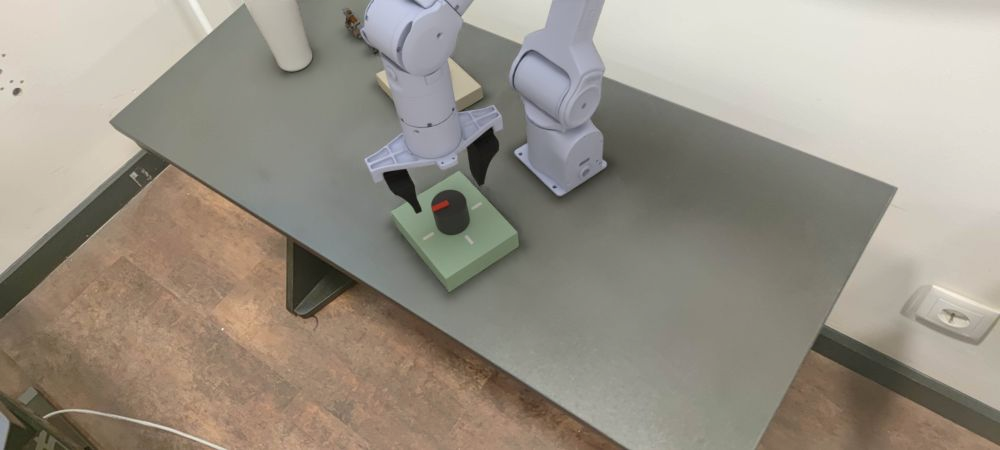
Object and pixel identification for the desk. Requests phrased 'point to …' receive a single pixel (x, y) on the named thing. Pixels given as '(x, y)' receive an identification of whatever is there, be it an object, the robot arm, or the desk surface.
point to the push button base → (462, 84)
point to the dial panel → (463, 251)
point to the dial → (450, 212)
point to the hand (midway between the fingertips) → (447, 192)
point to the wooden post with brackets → (357, 24)
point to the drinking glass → (282, 31)
